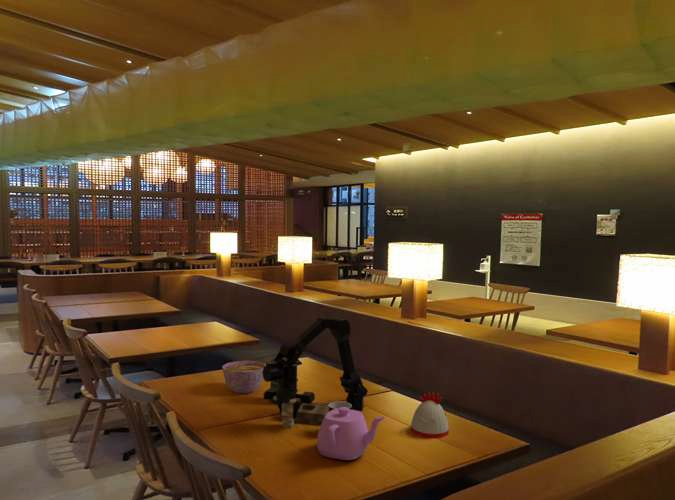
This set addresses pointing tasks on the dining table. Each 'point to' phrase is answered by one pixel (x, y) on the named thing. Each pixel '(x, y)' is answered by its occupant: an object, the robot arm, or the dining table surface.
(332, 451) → the teapot
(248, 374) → the bowl of food
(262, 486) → the dining table surface
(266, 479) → the dining table surface
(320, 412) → the grey block with hole
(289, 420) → the wooden post
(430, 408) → the kitchen timer
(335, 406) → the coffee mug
